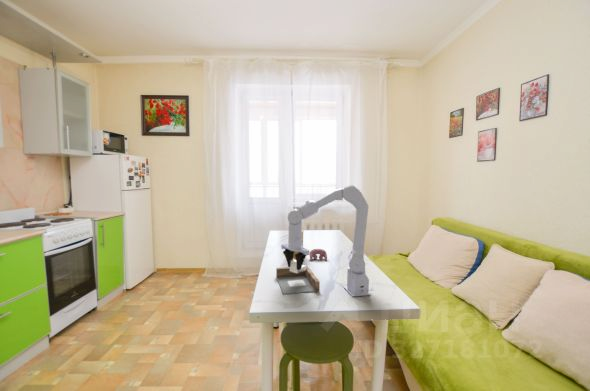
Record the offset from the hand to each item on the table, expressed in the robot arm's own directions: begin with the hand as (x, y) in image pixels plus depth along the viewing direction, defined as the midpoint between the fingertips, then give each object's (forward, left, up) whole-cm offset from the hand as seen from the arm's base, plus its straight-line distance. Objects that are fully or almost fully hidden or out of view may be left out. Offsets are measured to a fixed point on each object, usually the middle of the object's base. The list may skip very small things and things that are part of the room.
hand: (294, 267), depth 113 cm
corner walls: (0, -1, -8) cm, 7 cm away
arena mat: (0, -1, -8) cm, 7 cm away
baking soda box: (+34, -9, -8) cm, 36 cm away
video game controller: (+30, -21, -8) cm, 37 cm away
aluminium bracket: (+1, -2, -2) cm, 3 cm away
